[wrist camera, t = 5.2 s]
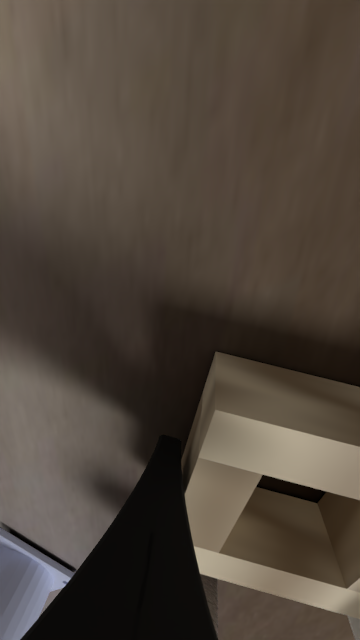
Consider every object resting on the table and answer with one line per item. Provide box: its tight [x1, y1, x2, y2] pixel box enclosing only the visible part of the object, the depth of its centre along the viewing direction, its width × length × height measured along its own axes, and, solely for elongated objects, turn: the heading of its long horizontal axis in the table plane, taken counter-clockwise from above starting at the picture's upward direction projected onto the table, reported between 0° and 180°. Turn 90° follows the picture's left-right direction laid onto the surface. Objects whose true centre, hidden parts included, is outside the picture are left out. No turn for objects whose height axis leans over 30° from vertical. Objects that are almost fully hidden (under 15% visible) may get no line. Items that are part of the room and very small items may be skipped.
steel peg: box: [200, 574, 218, 638], centre depth 12 cm, size 3×3×7 cm
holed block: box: [181, 352, 360, 619], centre depth 10 cm, size 9×9×3 cm
